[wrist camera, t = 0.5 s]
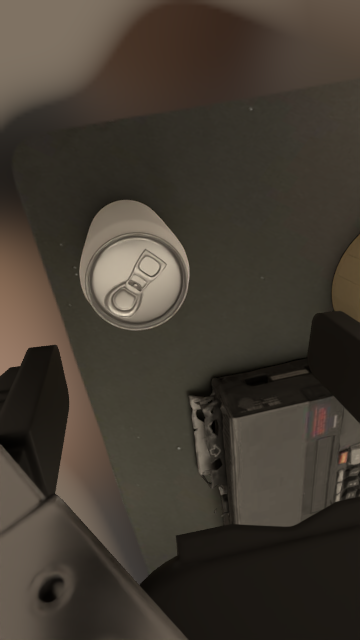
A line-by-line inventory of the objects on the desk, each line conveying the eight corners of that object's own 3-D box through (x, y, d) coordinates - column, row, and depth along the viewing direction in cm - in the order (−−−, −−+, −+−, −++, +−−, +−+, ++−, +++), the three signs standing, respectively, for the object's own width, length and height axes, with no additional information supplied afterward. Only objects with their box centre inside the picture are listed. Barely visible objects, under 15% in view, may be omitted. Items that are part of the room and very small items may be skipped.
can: (73, 247, 29) (52, 300, 18) (117, 181, 27) (121, 196, 16) (136, 288, 31) (151, 355, 21) (180, 230, 30) (219, 270, 19)
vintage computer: (378, 547, 58) (415, 602, 51) (215, 590, 56) (229, 653, 48) (422, 325, 40) (490, 360, 33) (182, 373, 37) (196, 423, 30)
